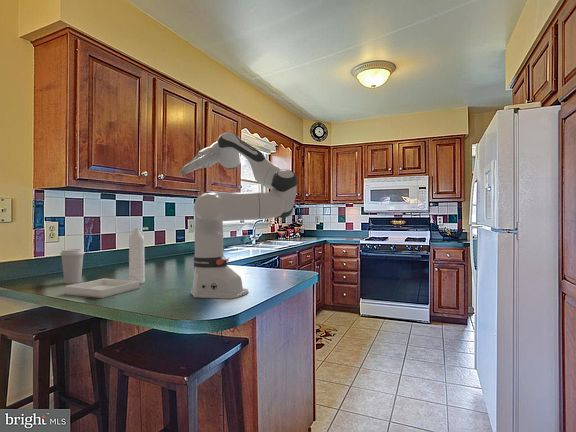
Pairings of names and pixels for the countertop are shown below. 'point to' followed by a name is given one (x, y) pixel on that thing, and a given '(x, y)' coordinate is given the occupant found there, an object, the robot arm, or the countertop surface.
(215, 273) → the robot arm
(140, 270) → the water bottle
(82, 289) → the tray
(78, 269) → the coffee cup
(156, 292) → the countertop surface
